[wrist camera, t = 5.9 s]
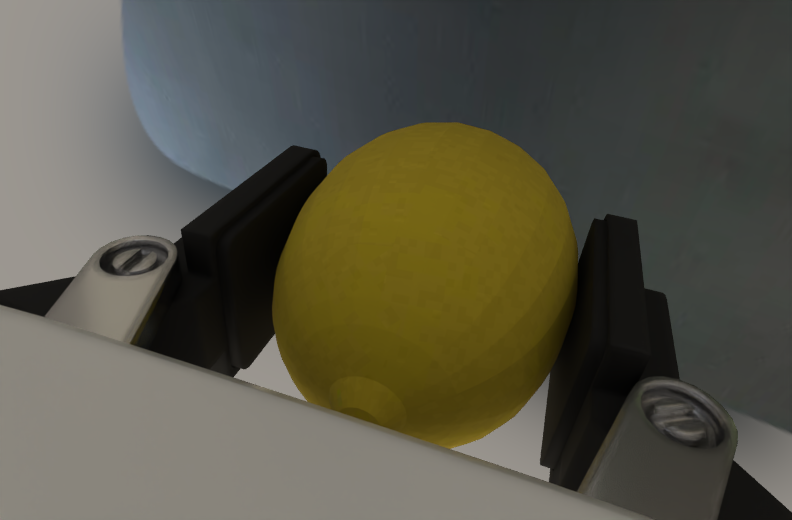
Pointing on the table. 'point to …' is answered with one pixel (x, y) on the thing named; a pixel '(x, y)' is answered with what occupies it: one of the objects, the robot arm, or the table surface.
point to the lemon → (428, 283)
